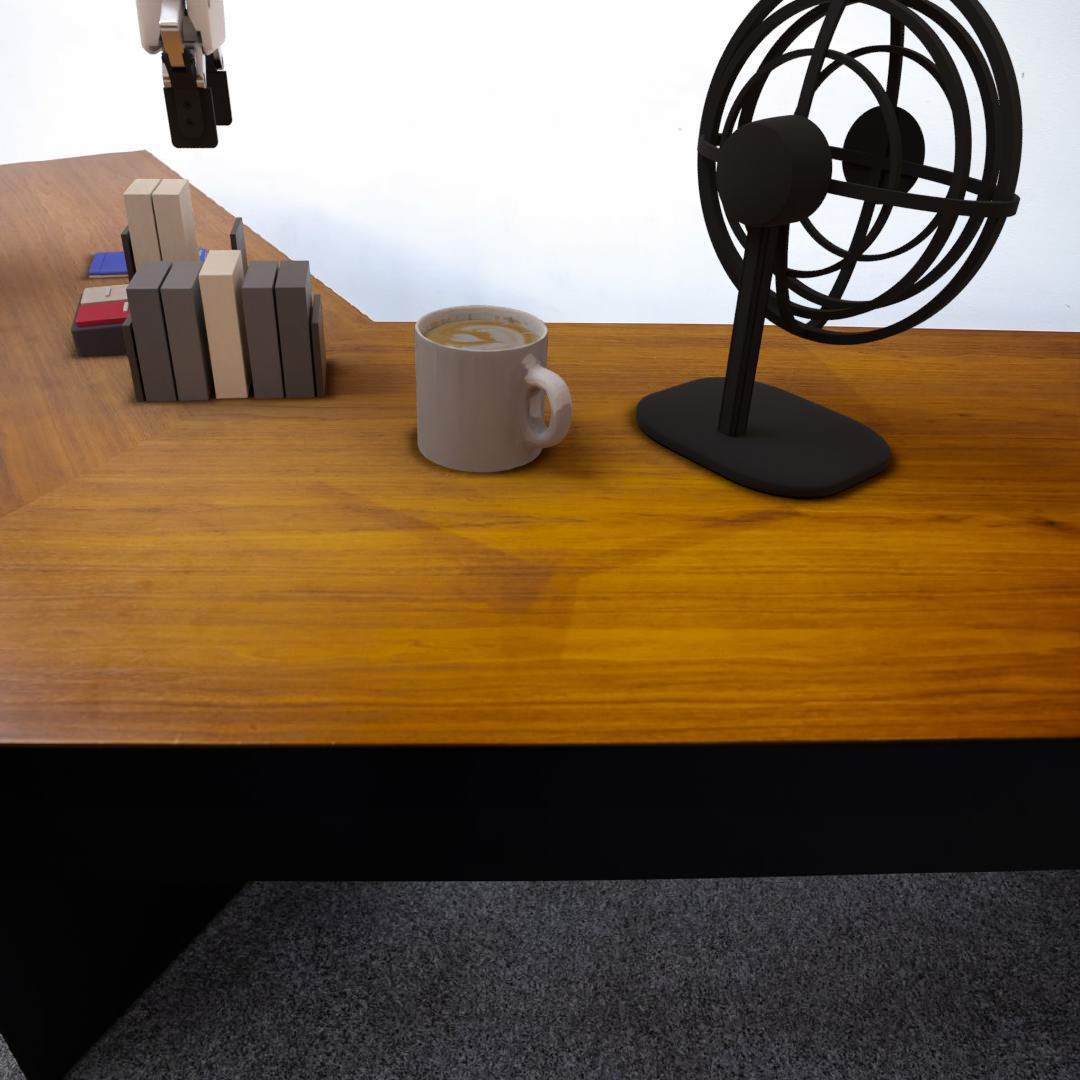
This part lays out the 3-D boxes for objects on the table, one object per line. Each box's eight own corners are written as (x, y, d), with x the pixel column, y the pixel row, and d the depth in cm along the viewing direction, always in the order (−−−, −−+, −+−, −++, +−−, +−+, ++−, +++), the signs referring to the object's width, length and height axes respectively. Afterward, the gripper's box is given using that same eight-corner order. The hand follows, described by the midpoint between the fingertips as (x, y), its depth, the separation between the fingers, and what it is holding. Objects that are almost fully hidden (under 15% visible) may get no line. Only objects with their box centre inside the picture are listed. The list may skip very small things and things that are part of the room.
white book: (216, 402, 83) (198, 274, 78) (225, 371, 89) (209, 249, 83) (248, 402, 84) (232, 274, 78) (255, 370, 90) (240, 249, 84)
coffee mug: (393, 439, 79) (389, 319, 73) (493, 410, 84) (495, 297, 79) (492, 508, 70) (495, 378, 65) (596, 471, 76) (606, 348, 70)
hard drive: (206, 247, 118) (96, 250, 115) (205, 266, 111) (87, 271, 108) (208, 260, 119) (98, 264, 116) (207, 280, 112) (90, 285, 109)
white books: (132, 300, 104) (113, 193, 98) (144, 280, 110) (126, 178, 104) (243, 299, 106) (230, 194, 100) (249, 279, 112) (237, 179, 106)
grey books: (137, 406, 82) (114, 288, 77) (152, 371, 88) (132, 260, 83) (324, 401, 85) (315, 287, 79) (326, 368, 91) (318, 260, 85)
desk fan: (970, 474, 78) (1130, -36, 59) (838, 543, 68) (979, -43, 50) (715, 366, 95) (776, -55, 77) (579, 408, 85) (613, -63, 67)
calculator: (78, 284, 96) (236, 269, 100) (90, 326, 99) (243, 310, 102) (67, 322, 88) (240, 304, 91) (80, 367, 90) (248, 348, 94)
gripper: (132, -130, 73) (171, 117, 82) (78, -144, 59) (132, 157, 68) (236, -125, 74) (263, 117, 83) (207, -138, 60) (244, 157, 69)
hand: (204, 135), depth 76 cm, fingers open, 9 cm apart
